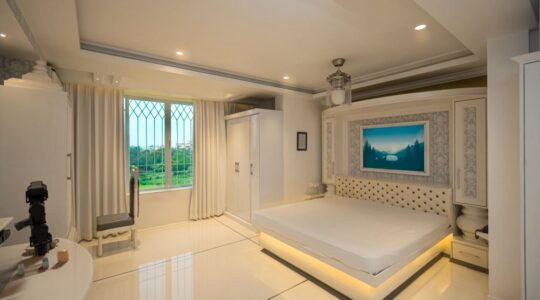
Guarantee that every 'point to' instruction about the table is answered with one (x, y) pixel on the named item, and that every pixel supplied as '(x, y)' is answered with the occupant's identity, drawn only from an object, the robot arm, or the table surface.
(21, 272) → the clamp jaws
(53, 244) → the alarm clock
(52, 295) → the table surface
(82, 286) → the table surface
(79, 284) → the table surface
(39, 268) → the board
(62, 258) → the orange-tan rounded capsule
